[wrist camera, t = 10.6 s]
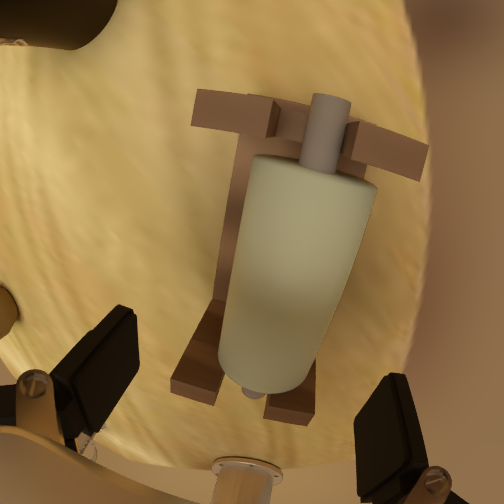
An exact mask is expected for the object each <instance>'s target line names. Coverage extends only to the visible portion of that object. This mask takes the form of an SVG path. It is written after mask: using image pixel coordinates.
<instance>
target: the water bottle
mask: <svg viewBox="0 0 504 504" xmlns="http://www.w3.org/2000/svg"><path fill="white" fill-rule="evenodd" d="M116 4H117V0H0V45H7V46H8V45H9V46H36V47H47V48H56V49H64V50H75V49H78V48H80V47H82V46H84V45H86V44H87V43H89V42H90V41H91V40H93V39H94V38H95V37H96V36H97V35H98V34H99V33H100V32H101V31H102V30H103V28H104V27H105V26H106V24H107V23H108V21H109V20H110V18H111V16H112V14H113V12H114V10H115V7H116Z"/></svg>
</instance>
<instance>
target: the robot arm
mask: <svg viewBox="0 0 504 504" xmlns="http://www.w3.org/2000/svg"><path fill="white" fill-rule="evenodd" d="M139 366H140V360H139V346H138V329H137V316H136V314H134V312H133V309H130V308H128V307H125V306H122V305H120V304H119V305H117V306H115V307H114V309H113V310H112V311H111V312H110V313H109V314H108V315H107V316H106V317H105V318H104V319H103V320H102V321H101V322H100V323H99V324H98V325H97V326H96V327H95V328H94V329H93V330H90V331H89V332H88V333H87V334H86V335H85V336H84V337H83V338H82V339H81V340H80V341H79V342H78V343H77V344H76V345H75V346H74V347H73V348H72V349H71V351H70V352H69V353H68V354H67V355H66V356H65V357H64V358H63V359H62V360H61V361H60V362H59V364H58V365H57V366H56V367H55V368H54V369H53V370H52V371H51V372H50V374H47V373H46V372H45V371H42V370H37V369H33V370H28V371H26V372H24V373H23V374H22V375H21V376H20V377H19V378H18V380H17V383H16V384H13V385H4V386H0V504H200V503H196V502H193V501H189V500H186V499H183V498H179V497H177V496H173V495H171V494H168V493H165V492H162V491H159V490H156V489H154V488H151V487H149V486H146V485H144V484H141V483H138V482H136V481H134V480H131V479H129V478H127V477H125V476H123V475H120V474H118V473H116V472H114V471H112V470H110V469H107V468H105V467H103V466H101V465H99V464H97V463H95V462H93V461H92V460H90V459H88V458H86V457H84V456H82V455H81V453H80V449H79V445H78V440H77V438H78V437H79V435H80V434H81V432H82V433H84V434H86V435H88V436H89V437H91V436H92V435H93V433H94V432H95V433H98V432H99V431H100V429H101V428H102V426H103V425H104V423H105V421H106V420H107V418H108V417H109V415H110V414H111V412H112V410H113V409H114V407H115V406H116V404H117V403H118V401H119V400H120V398H121V396H122V395H123V393H124V392H125V390H126V389H127V387H128V386H129V384H130V383H131V381H132V380H133V378H134V376H135V375H136V373H137V372H138V370H139ZM354 437H355V453H356V472H357V473H356V475H357V495H358V496H359V497H361V503H371V502H372V504H469V503H467V502H466V501H465V500H463V499H462V498H460V497H459V496H458V495H457V494H455V493H454V492H452V491H451V487H452V479H451V476H450V474H449V473H448V471H446V470H445V469H444V468H442V467H440V466H430V467H429V464H428V458H427V454H426V449H425V445H424V440H423V436H422V432H421V428H420V424H419V420H418V416H417V413H416V409H415V405H414V402H413V398H412V395H411V391H410V388H409V385H408V382H407V378H406V376H405V374H400V373H392V372H391V373H389V374H388V375H387V376H384V377H383V379H382V380H381V382H380V383H379V385H378V386H377V388H376V389H375V390H374V392H373V393H372V395H371V396H370V398H369V399H368V401H367V402H366V403H365V405H364V406H363V407H362V409H361V410H360V412H359V413H358V414H357V416H356V417H355V419H354ZM211 469H212V472H213V473H214V474H215V475H217V476H218V478H217V482H216V485H215V489H214V492H213V496H212V499H211V502H210V504H269V503H270V496H271V491H272V486H274V485H277V484H279V483H280V482H281V481H282V479H283V473H282V472H281V470H279V469H278V468H277V467H275V466H273V465H271V464H268V463H265V462H262V461H258V460H253V459H247V458H238V457H228V458H221V459H218V460H216V461H214V462H213V464H212V468H211Z"/></svg>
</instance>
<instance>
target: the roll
mask: <svg viewBox="0 0 504 504" xmlns="http://www.w3.org/2000/svg"><path fill="white" fill-rule="evenodd" d="M350 107H351V103H350V102H349V101H347V100H344V99H341V98H338V97H335V96H331V95H326V94H320V93H314V94H313V97H312V102H311V107H310V111H309V116H308V121H307V125H306V130H305V134H304V139H303V144H302V148H301V153H300V157H299V159H295V158H290V157H284V156H277V155H268V154H256V155H253V160H252V165H251V170H250V176H249V181H248V186H247V191H246V197H245V202H244V207H243V213H242V218H241V223H240V229H239V234H238V240H237V245H236V251H235V256H234V262H233V267H232V273H231V279H230V284H229V290H228V296H227V302H226V307H225V313H224V319H223V325H222V331H221V337H220V343H219V349H218V359H219V363H220V365H221V367H222V369H223V371H224V372H225V373H226V374H227V376H228V377H229V378H231V379H232V380H233V381H234V382H236V383H237V384H239V385H240V386H242V392H243V393H244V395H246V396H247V397H249V398H251V399H260V398H262V397H264V396H265V394H266V393H268V394H275V393H283V392H287V391H290V390H292V389H294V388H296V387H297V386H299V385H300V384H301V383H302V382H303V381H304V380H305V378H306V376H307V374H308V372H309V370H310V368H311V366H312V364H313V361H314V359H315V357H316V355H317V353H318V350H319V348H320V346H321V344H322V341H323V339H324V337H325V335H326V332H327V330H328V328H329V325H330V323H331V320H332V318H333V316H334V313H335V311H336V308H337V306H338V303H339V301H340V298H341V296H342V293H343V291H344V288H345V285H346V283H347V280H348V277H349V275H350V272H351V269H352V267H353V264H354V261H355V258H356V255H357V252H358V250H359V247H360V244H361V241H362V238H363V235H364V232H365V229H366V226H367V222H368V219H369V216H370V213H371V210H372V206H373V203H374V200H375V196H376V193H377V189H378V188H377V187H376V186H375V185H374V184H372V183H370V182H368V181H366V180H364V179H362V178H359V177H357V176H354V175H352V174H349V173H346V172H343V171H340V170H337V169H336V168H337V164H338V160H339V156H340V152H341V148H342V143H343V139H344V135H345V130H346V126H347V121H348V117H349V112H350Z"/></svg>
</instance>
